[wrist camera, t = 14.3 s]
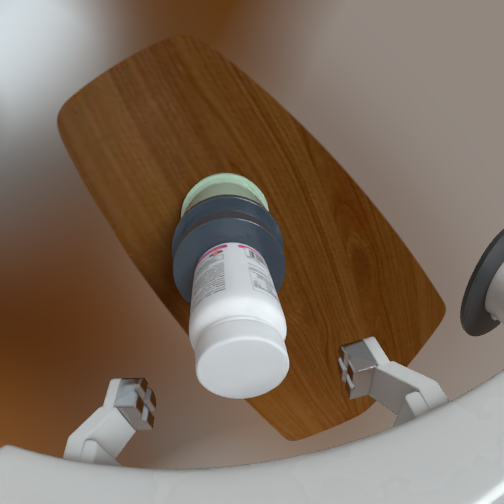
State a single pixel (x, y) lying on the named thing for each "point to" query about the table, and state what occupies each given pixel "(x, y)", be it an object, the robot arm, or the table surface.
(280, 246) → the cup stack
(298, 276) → the table surface
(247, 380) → the pill bottle
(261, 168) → the table surface
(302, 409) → the table surface
